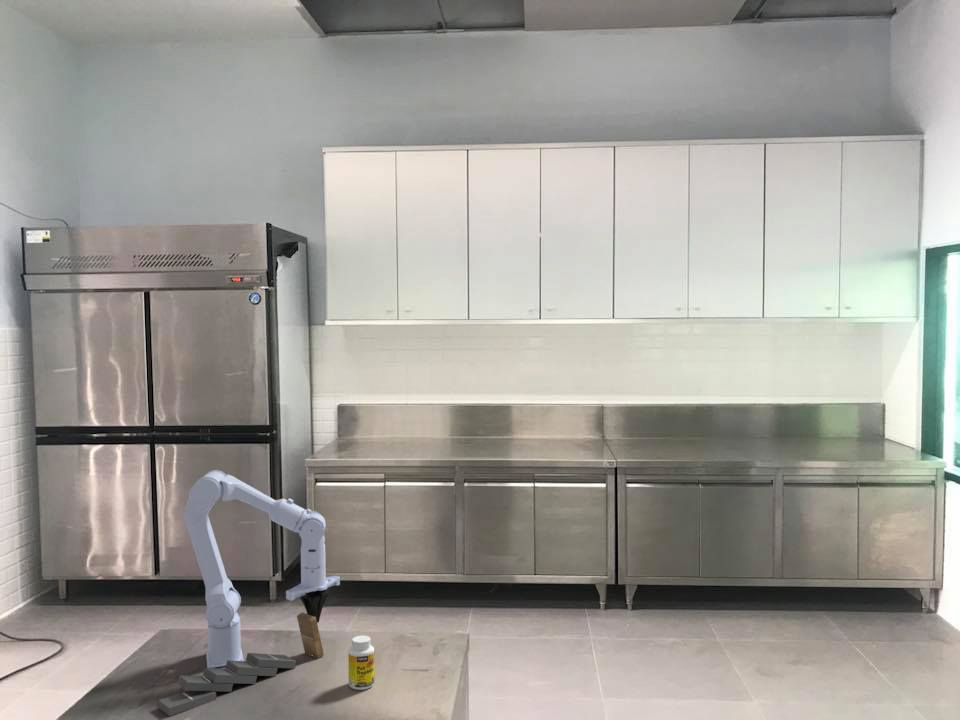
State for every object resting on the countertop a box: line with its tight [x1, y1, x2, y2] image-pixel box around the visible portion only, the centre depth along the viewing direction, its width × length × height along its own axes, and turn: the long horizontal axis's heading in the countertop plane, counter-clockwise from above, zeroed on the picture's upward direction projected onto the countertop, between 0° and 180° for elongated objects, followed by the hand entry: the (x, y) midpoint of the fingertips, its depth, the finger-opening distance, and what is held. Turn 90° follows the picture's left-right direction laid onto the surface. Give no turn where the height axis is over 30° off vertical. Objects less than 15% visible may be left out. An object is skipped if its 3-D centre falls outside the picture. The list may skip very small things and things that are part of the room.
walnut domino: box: [296, 612, 325, 659], centre depth 185 cm, size 2×5×10 cm, turn 52°
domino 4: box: [224, 660, 278, 677], centre depth 173 cm, size 2×5×10 cm
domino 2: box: [157, 690, 217, 717], centre depth 162 cm, size 2×5×10 cm
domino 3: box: [202, 667, 258, 685], centre depth 169 cm, size 2×5×10 cm
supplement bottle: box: [347, 635, 375, 691], centre depth 169 cm, size 6×6×10 cm
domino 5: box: [245, 652, 297, 669], centre depth 177 cm, size 2×5×10 cm
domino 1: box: [177, 674, 234, 693], centre depth 166 cm, size 2×5×10 cm
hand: (314, 622), depth 186 cm, fingers closed
